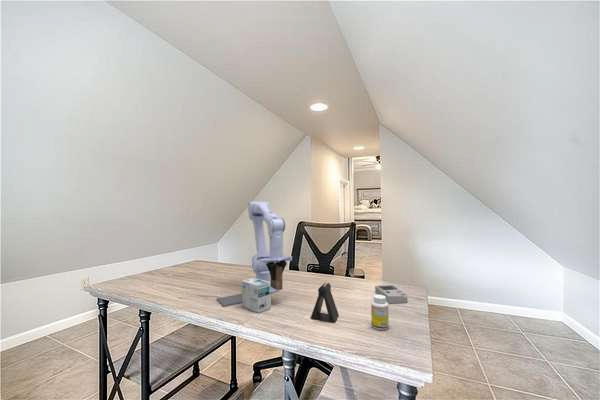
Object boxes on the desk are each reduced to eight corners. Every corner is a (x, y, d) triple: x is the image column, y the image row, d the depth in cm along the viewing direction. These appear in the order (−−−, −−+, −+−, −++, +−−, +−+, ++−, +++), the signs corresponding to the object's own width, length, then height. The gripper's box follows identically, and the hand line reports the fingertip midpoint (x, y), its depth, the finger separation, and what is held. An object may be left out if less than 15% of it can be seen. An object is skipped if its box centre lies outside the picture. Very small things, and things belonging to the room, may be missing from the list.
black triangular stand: (339, 316, 98) (338, 283, 98) (334, 323, 92) (334, 288, 92) (316, 313, 101) (315, 281, 101) (310, 319, 96) (310, 285, 96)
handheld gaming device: (388, 304, 110) (388, 295, 110) (374, 293, 125) (374, 285, 125) (408, 304, 111) (408, 295, 111) (393, 292, 126) (393, 284, 126)
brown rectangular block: (275, 285, 115) (275, 264, 115) (282, 289, 110) (282, 267, 110) (270, 286, 114) (270, 265, 114) (277, 290, 109) (277, 268, 109)
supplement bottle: (375, 321, 93) (375, 292, 93) (391, 326, 89) (391, 296, 90) (368, 327, 89) (368, 296, 89) (384, 332, 85) (384, 300, 85)
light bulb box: (271, 308, 106) (271, 281, 106) (258, 313, 101) (258, 285, 101) (254, 302, 113) (254, 276, 113) (241, 306, 108) (241, 280, 108)
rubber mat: (242, 294, 123) (242, 293, 123) (251, 301, 114) (251, 299, 114) (216, 299, 116) (216, 298, 116) (223, 306, 108) (223, 305, 108)
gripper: (264, 250, 105) (264, 284, 105) (295, 246, 113) (295, 278, 113) (257, 247, 111) (257, 280, 111) (287, 244, 119) (287, 275, 118)
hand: (276, 279), depth 112 cm, fingers closed on brown rectangular block, 2 cm apart
